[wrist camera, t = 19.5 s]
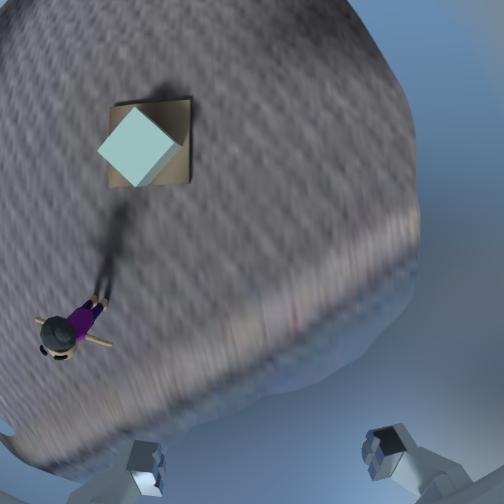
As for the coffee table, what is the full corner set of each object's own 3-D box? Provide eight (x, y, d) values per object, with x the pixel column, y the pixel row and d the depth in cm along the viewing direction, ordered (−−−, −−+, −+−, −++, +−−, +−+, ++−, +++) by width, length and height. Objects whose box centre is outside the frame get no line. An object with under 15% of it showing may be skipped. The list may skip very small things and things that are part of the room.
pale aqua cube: (147, 185, 34) (135, 187, 30) (114, 153, 33) (97, 151, 28) (182, 146, 34) (174, 142, 29) (146, 115, 32) (134, 106, 27)
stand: (111, 187, 35) (95, 189, 30) (112, 108, 33) (97, 100, 28) (190, 183, 36) (183, 184, 31) (190, 101, 33) (185, 91, 28)
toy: (68, 301, 38) (12, 354, 24) (70, 265, 37) (6, 309, 22) (134, 321, 39) (95, 387, 25) (138, 284, 38) (94, 341, 24)
